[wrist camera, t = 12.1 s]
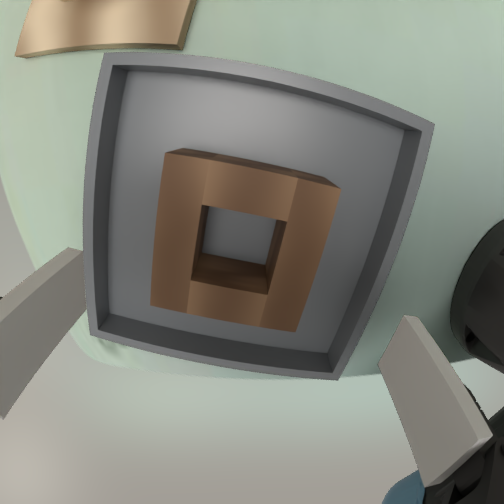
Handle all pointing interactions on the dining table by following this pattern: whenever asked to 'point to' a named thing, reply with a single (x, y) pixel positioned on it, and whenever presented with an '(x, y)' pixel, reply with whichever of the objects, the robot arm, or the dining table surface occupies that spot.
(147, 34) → the stake stand
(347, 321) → the tray
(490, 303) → the robot arm
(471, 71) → the dining table surface
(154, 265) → the collar
